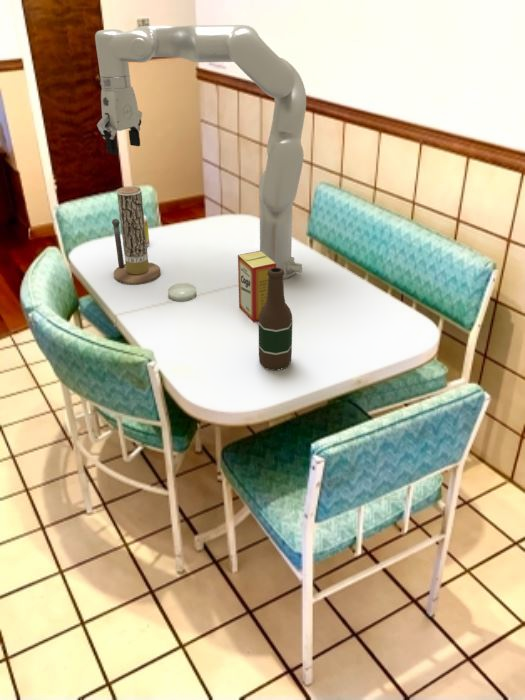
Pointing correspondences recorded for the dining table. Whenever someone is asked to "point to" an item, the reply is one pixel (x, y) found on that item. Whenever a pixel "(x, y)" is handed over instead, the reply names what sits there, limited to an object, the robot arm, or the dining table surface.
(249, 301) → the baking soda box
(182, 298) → the sage dish
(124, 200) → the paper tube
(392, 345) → the dining table surface
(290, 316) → the beer bottle
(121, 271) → the holder base
